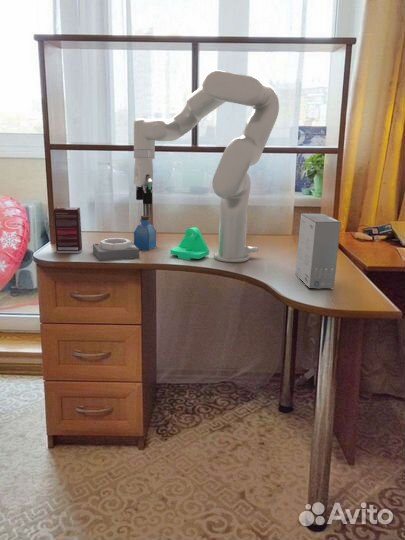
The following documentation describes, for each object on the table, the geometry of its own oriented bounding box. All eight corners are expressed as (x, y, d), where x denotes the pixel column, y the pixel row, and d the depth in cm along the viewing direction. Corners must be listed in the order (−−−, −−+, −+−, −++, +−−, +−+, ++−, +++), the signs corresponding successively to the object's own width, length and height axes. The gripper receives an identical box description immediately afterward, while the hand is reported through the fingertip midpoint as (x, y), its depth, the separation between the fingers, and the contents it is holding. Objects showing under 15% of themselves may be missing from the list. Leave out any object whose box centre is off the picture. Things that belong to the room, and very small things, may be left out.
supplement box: (82, 250, 176) (80, 207, 172) (80, 253, 172) (78, 209, 167) (58, 250, 176) (56, 206, 171) (55, 253, 171) (52, 209, 167)
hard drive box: (334, 290, 139) (341, 222, 133) (308, 290, 138) (315, 221, 133) (318, 274, 154) (324, 212, 148) (294, 274, 153) (299, 212, 148)
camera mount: (169, 257, 171) (169, 228, 168) (180, 252, 177) (180, 225, 175) (198, 262, 166) (199, 232, 163) (209, 257, 172) (209, 229, 169)
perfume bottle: (141, 245, 187) (141, 214, 184) (156, 246, 185) (155, 215, 182) (134, 248, 181) (133, 217, 178) (149, 250, 179) (148, 218, 176)
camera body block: (131, 249, 179) (130, 236, 178) (139, 257, 169) (139, 243, 167) (93, 252, 174) (92, 238, 173) (99, 260, 163) (98, 246, 162)
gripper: (128, 152, 180) (128, 198, 185) (140, 156, 165) (140, 205, 169) (147, 153, 183) (147, 198, 188) (161, 156, 167) (160, 205, 172)
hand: (143, 201), depth 178 cm, fingers open, 9 cm apart
